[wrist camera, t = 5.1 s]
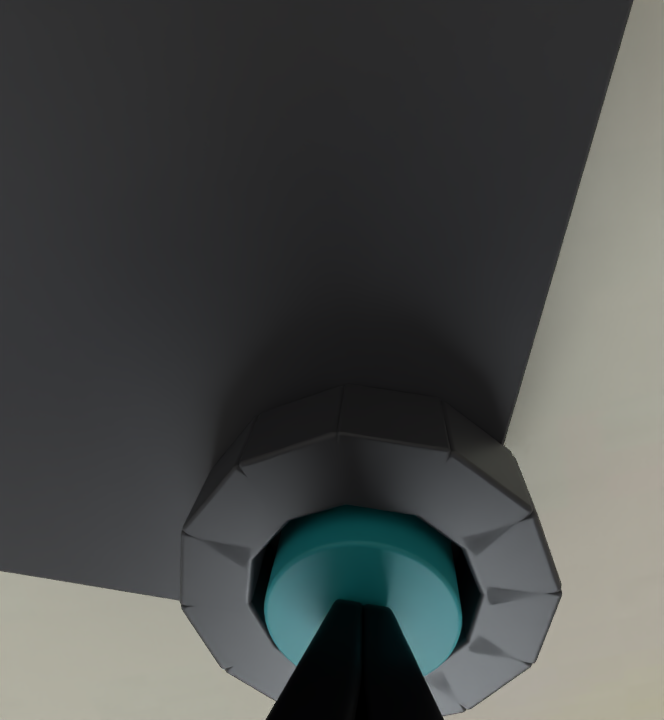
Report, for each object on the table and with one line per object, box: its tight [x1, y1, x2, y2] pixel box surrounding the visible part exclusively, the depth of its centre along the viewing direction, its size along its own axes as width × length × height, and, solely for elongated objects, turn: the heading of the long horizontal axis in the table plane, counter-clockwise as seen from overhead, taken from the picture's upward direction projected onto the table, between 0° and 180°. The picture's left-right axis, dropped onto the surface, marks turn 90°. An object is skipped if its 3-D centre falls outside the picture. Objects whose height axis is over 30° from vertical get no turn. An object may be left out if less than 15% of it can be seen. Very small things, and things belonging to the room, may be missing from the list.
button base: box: [0, 0, 633, 716], centre depth 9 cm, size 12×12×4 cm
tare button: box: [264, 505, 462, 676], centre depth 9 cm, size 3×3×2 cm
